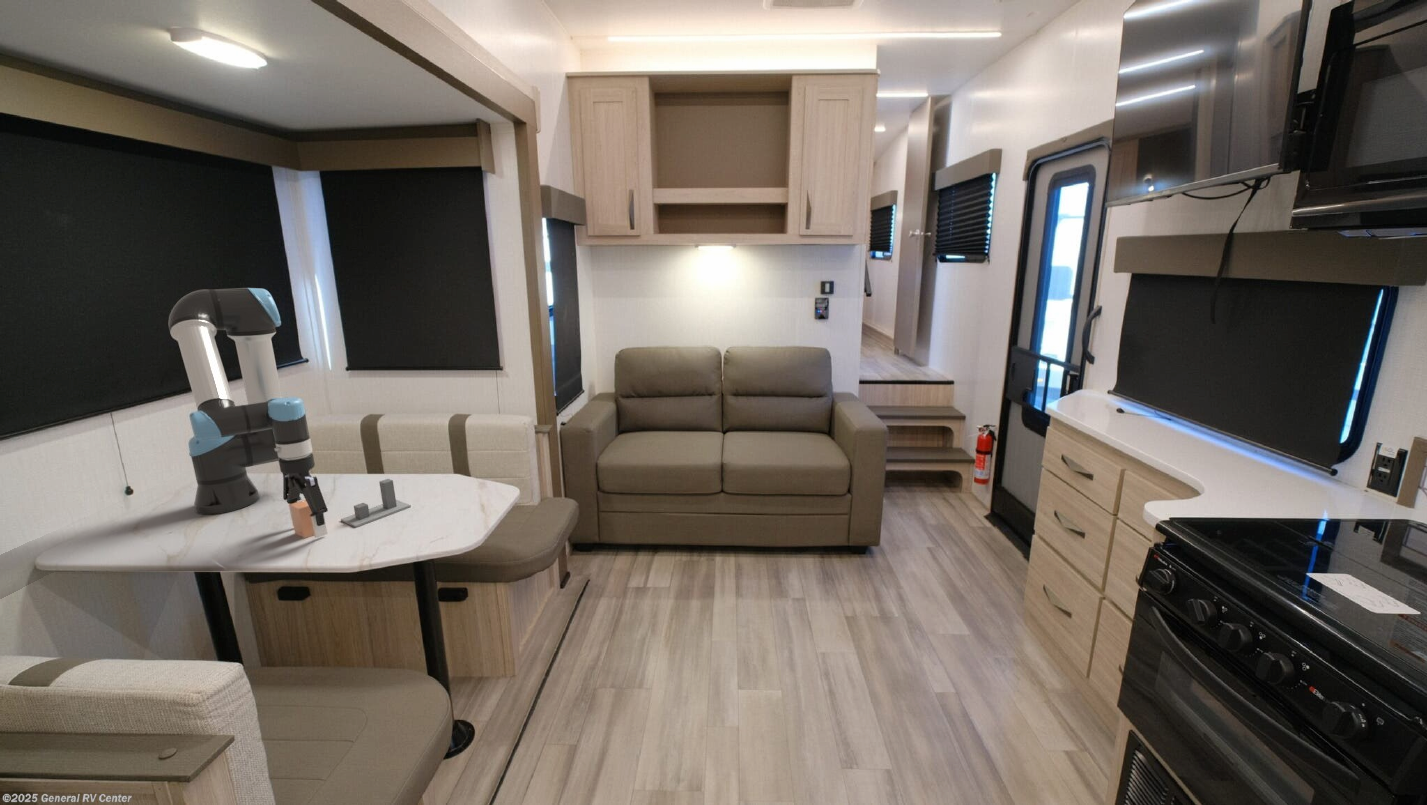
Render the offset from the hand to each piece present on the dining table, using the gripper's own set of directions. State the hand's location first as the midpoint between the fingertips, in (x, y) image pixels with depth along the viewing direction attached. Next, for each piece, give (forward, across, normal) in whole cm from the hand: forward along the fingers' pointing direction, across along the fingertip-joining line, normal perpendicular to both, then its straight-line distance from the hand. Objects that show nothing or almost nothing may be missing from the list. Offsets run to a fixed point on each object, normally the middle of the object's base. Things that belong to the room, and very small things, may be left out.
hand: (310, 530), depth 157 cm
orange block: (+1, 0, 0) cm, 1 cm away
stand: (+1, +4, +16) cm, 17 cm away
